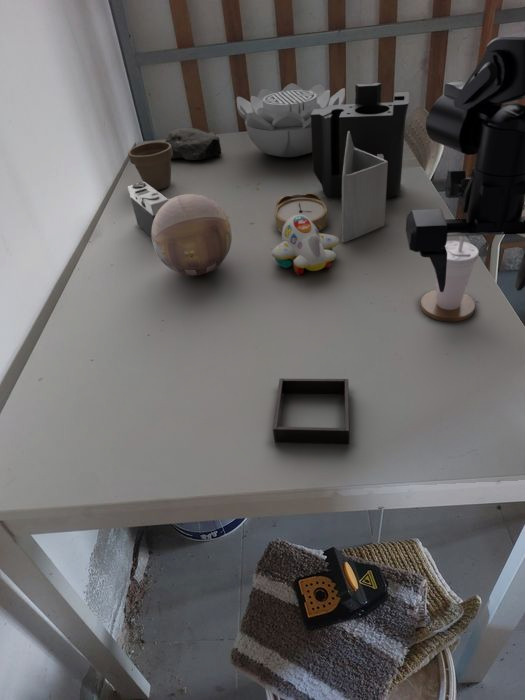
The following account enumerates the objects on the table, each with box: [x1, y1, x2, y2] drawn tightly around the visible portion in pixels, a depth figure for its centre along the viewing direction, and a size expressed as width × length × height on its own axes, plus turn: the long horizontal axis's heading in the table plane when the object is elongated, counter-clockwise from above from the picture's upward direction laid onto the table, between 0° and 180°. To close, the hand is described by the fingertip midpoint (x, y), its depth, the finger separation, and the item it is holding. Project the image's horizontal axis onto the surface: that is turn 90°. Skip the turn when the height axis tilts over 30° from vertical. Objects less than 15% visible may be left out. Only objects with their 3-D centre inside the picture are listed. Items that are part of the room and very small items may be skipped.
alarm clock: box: [274, 192, 328, 233], centre depth 114 cm, size 11×5×15 cm
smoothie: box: [435, 236, 480, 310], centre depth 80 cm, size 6×6×14 cm
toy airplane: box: [271, 215, 340, 275], centre depth 98 cm, size 13×9×15 cm
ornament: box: [151, 193, 233, 276], centre depth 98 cm, size 15×15×15 cm
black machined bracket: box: [311, 82, 410, 199], centre depth 118 cm, size 12×21×22 cm, turn 77°
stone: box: [165, 127, 222, 161], centre depth 153 cm, size 18×9×10 cm
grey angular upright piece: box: [341, 131, 388, 243], centre depth 104 cm, size 16×8×19 cm, turn 166°
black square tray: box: [272, 378, 350, 445], centre depth 68 cm, size 9×9×2 cm
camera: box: [127, 181, 171, 239], centre depth 115 cm, size 14×8×10 cm, turn 32°
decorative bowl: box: [236, 83, 346, 158], centre depth 146 cm, size 30×30×15 cm
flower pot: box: [127, 141, 173, 191], centre depth 137 cm, size 12×11×10 cm
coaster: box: [420, 289, 476, 323], centre depth 85 cm, size 8×8×1 cm
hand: (479, 289), depth 65 cm, fingers open, 9 cm apart
